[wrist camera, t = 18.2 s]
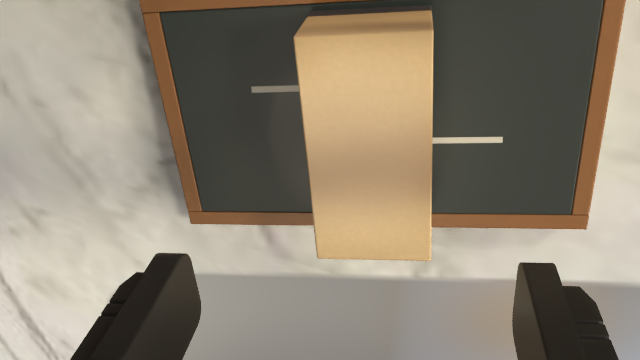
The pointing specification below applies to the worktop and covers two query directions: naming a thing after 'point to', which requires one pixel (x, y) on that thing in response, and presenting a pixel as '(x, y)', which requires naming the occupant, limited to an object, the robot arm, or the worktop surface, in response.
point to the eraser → (368, 129)
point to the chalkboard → (448, 107)
